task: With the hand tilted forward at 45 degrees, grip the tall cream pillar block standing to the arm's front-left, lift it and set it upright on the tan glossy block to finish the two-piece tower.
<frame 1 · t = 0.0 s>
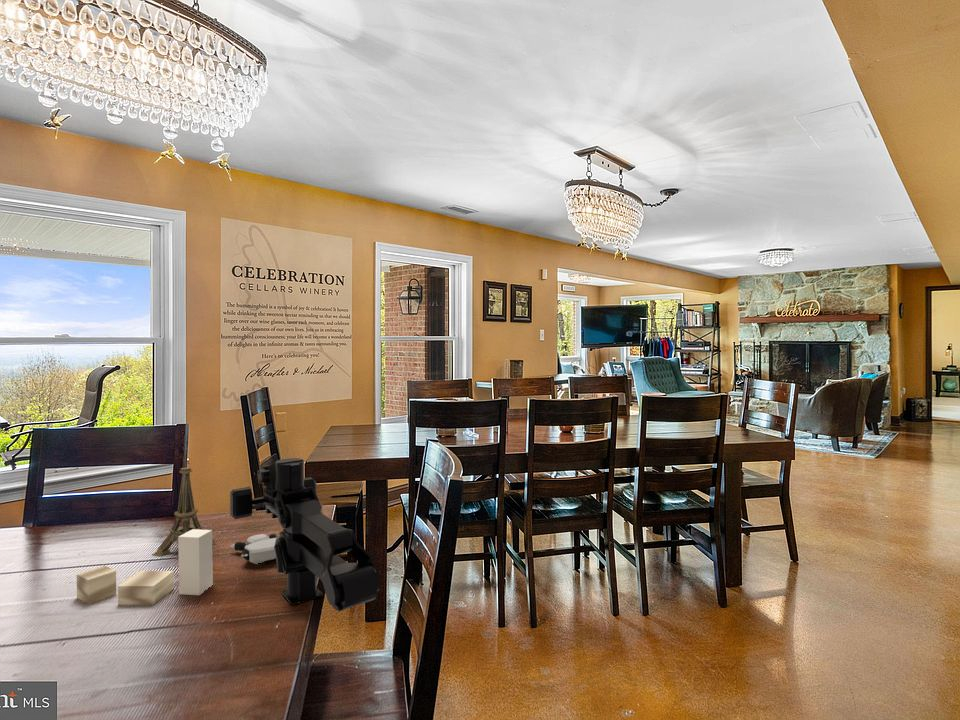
hand: (263, 489, 127), 17 cm above the table, tool horizontal, fingers open, 9 cm apart
tan glossy block: (146, 597, 107), on the table
pillar: (196, 589, 110), on the table
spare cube: (96, 596, 107), on the table
eiffel tower: (186, 551, 132), on the table
robot toy: (263, 557, 128), on the table
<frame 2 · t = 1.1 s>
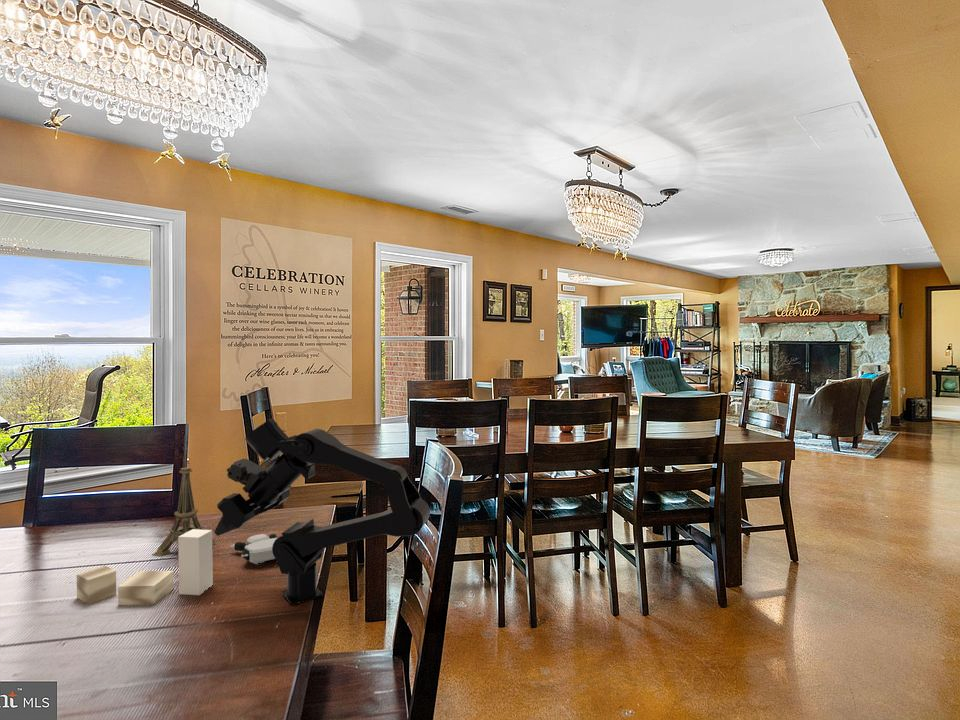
hand: (229, 526, 110), 14 cm above the table, tool tilted 45°, fingers open, 9 cm apart
nothing on the table moved.
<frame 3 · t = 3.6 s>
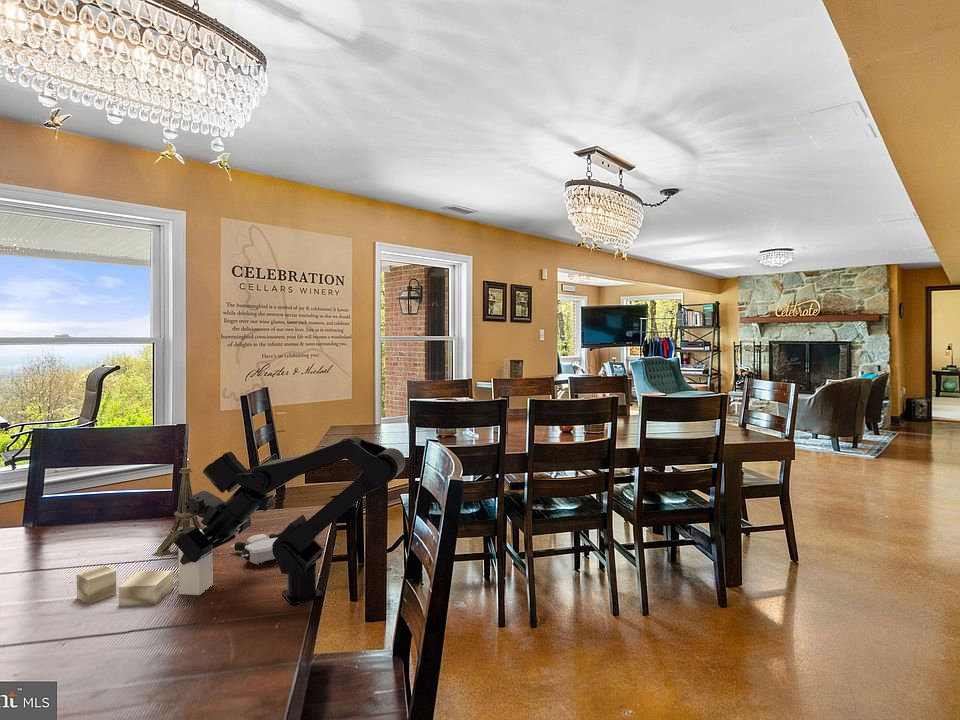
hand: (189, 558, 110), 7 cm above the table, tool tilted 45°, fingers closed on pillar, 4 cm apart
pillar: (196, 589, 110), on the table, touching gripper
everything else where it was.
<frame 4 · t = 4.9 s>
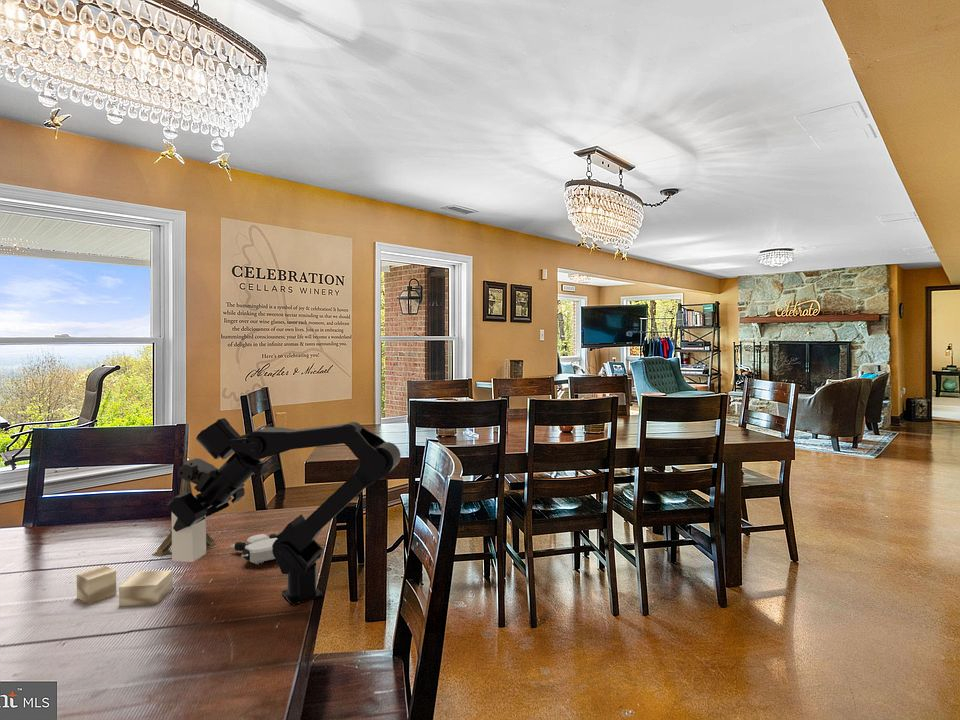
hand: (182, 525, 110), 14 cm above the table, tool tilted 45°, fingers closed on pillar, 4 cm apart
pillar: (189, 557, 110), point 7 cm above the table, touching gripper
everything else where it was.
when the fingers open (11 cm above the table, at t = 6.2 s): pillar drops 1 cm, resting on tan glossy block.
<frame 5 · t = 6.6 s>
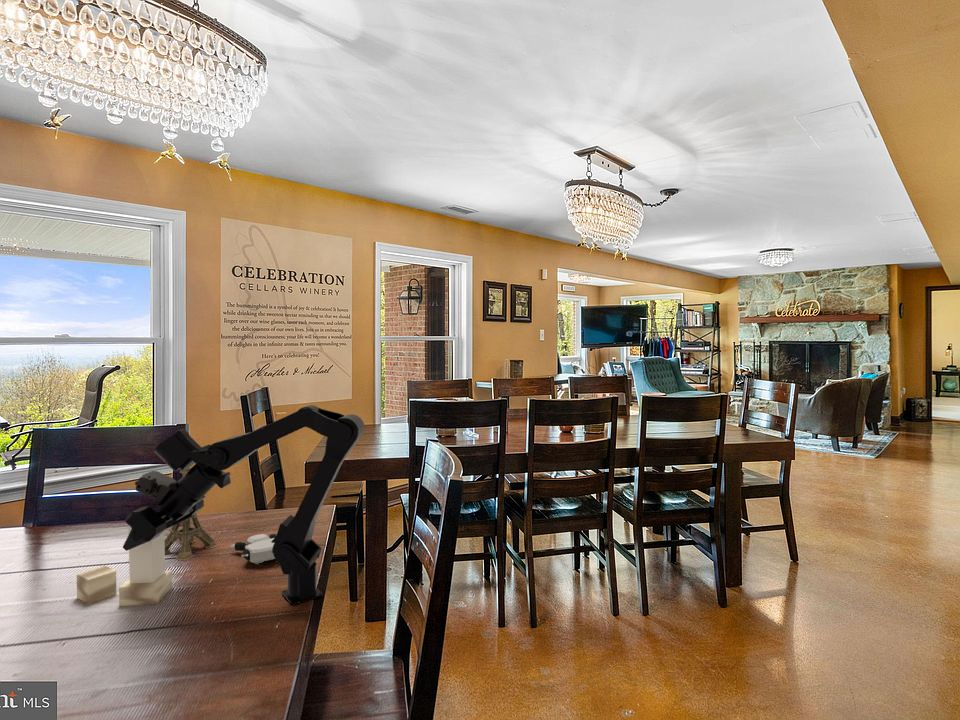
hand: (139, 540, 107), 12 cm above the table, tool tilted 45°, fingers open, 9 cm apart
tan glossy block: (146, 597, 107), on the table, touching pillar
pillar: (147, 577, 107), point 4 cm above the table, touching tan glossy block
everything else where it was.
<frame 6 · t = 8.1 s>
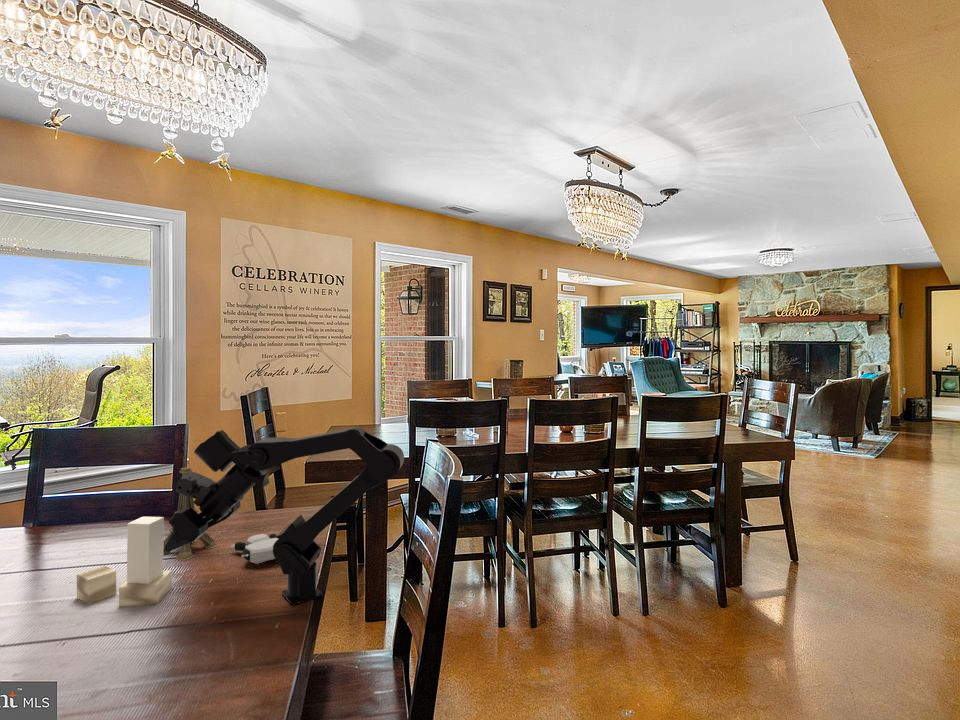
hand: (179, 541, 107), 11 cm above the table, tool tilted 45°, fingers open, 9 cm apart
nothing on the table moved.
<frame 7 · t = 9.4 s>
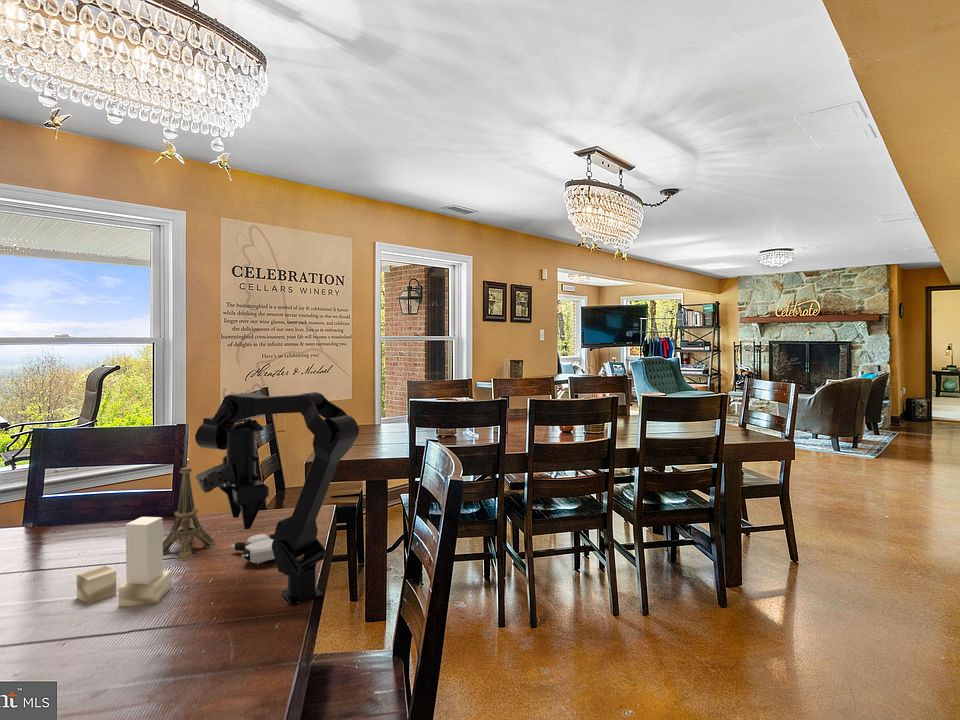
hand: (241, 523, 113), 13 cm above the table, tool pointing down, fingers open, 9 cm apart
tan glossy block: (146, 597, 107), on the table
pillar: (145, 578, 107), point 4 cm above the table
everything else where it was.
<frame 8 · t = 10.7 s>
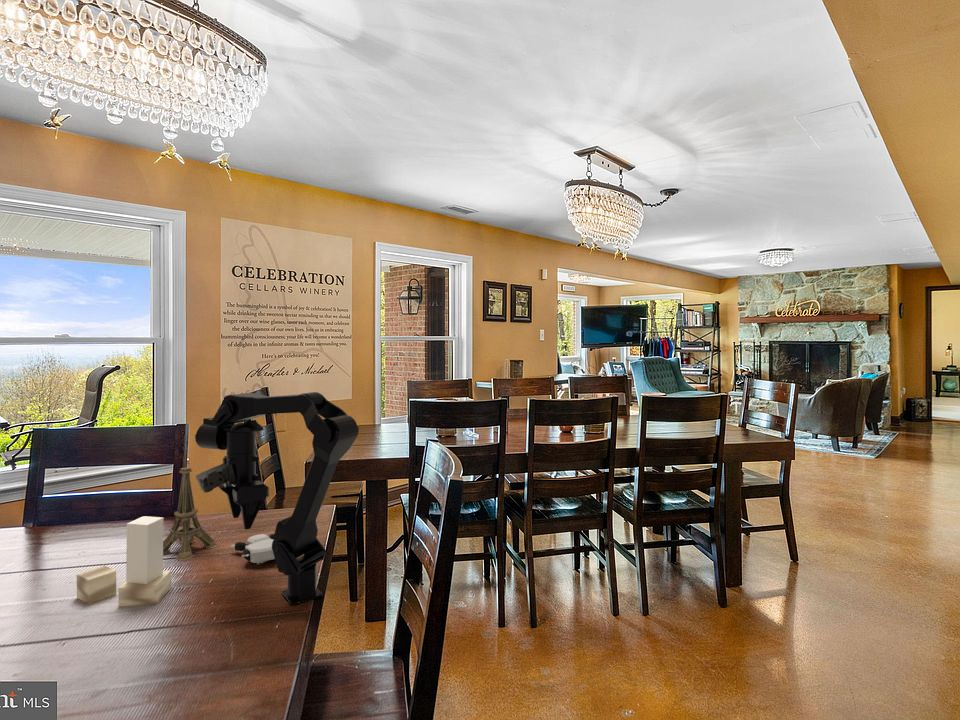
hand: (241, 523, 113), 13 cm above the table, tool pointing down, fingers open, 9 cm apart
tan glossy block: (146, 598, 107), on the table, touching pillar
pillar: (144, 578, 107), point 4 cm above the table, touching tan glossy block
everything else where it was.
at the end: pillar 0.2 cm off-centre on the tan glossy block, point 4.1 cm above the tan glossy block's base; pillar tilted 2°; pillar touching tan glossy block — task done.
